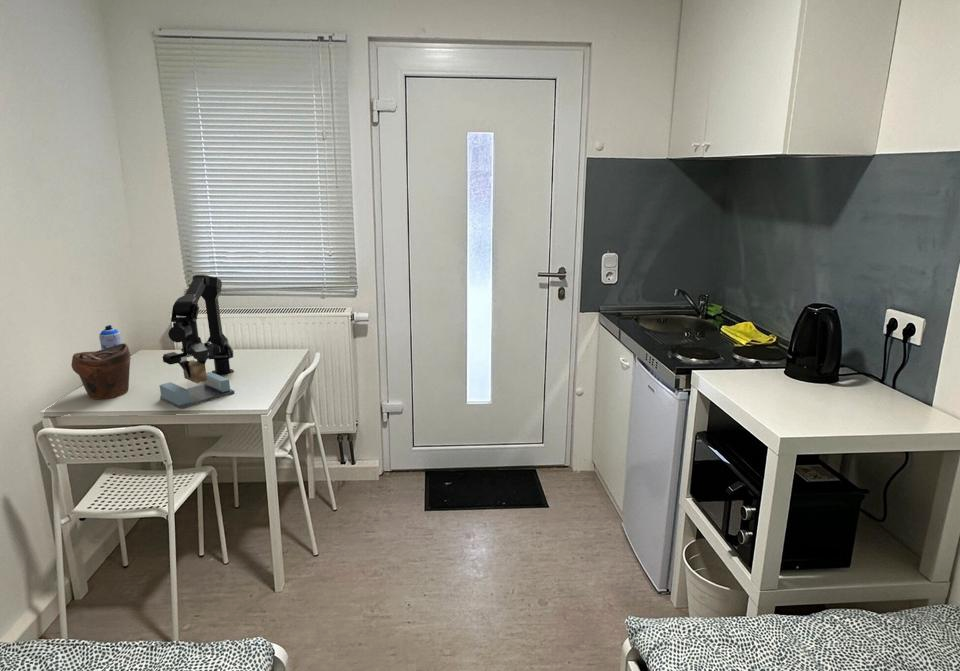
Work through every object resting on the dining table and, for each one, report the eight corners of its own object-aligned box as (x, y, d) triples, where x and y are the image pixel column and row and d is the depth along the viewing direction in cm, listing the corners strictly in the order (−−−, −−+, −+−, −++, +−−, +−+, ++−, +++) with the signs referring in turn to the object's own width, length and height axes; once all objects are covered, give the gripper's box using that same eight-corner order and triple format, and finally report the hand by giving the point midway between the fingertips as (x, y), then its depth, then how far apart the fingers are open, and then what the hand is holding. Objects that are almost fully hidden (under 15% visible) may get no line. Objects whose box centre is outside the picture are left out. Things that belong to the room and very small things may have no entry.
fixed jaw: (161, 396, 227) (159, 385, 226) (173, 393, 230) (171, 381, 229) (179, 405, 218) (177, 393, 217) (191, 402, 221) (189, 390, 220)
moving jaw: (203, 384, 238) (201, 374, 237) (211, 382, 241) (210, 371, 240) (221, 392, 230) (220, 381, 228) (230, 390, 232) (228, 379, 231)
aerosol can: (120, 375, 253) (112, 328, 248) (101, 376, 253) (92, 328, 248) (130, 369, 261) (123, 323, 256) (112, 370, 261) (104, 323, 256)
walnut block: (196, 383, 224) (194, 367, 223) (184, 378, 230) (182, 362, 228) (207, 380, 227) (205, 364, 226) (195, 375, 233) (193, 359, 231)
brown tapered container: (64, 400, 226) (56, 353, 222) (109, 383, 245) (102, 339, 240) (104, 406, 222) (96, 357, 217) (147, 387, 240) (141, 342, 236)
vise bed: (160, 398, 228) (159, 396, 227) (213, 384, 242) (212, 381, 242) (180, 408, 218) (180, 406, 217) (234, 393, 232) (234, 390, 232)
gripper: (173, 344, 212) (180, 387, 216) (225, 333, 226) (230, 374, 230) (159, 338, 219) (165, 381, 223) (210, 328, 233) (215, 368, 237)
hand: (195, 376), depth 228 cm, fingers closed on walnut block, 4 cm apart
